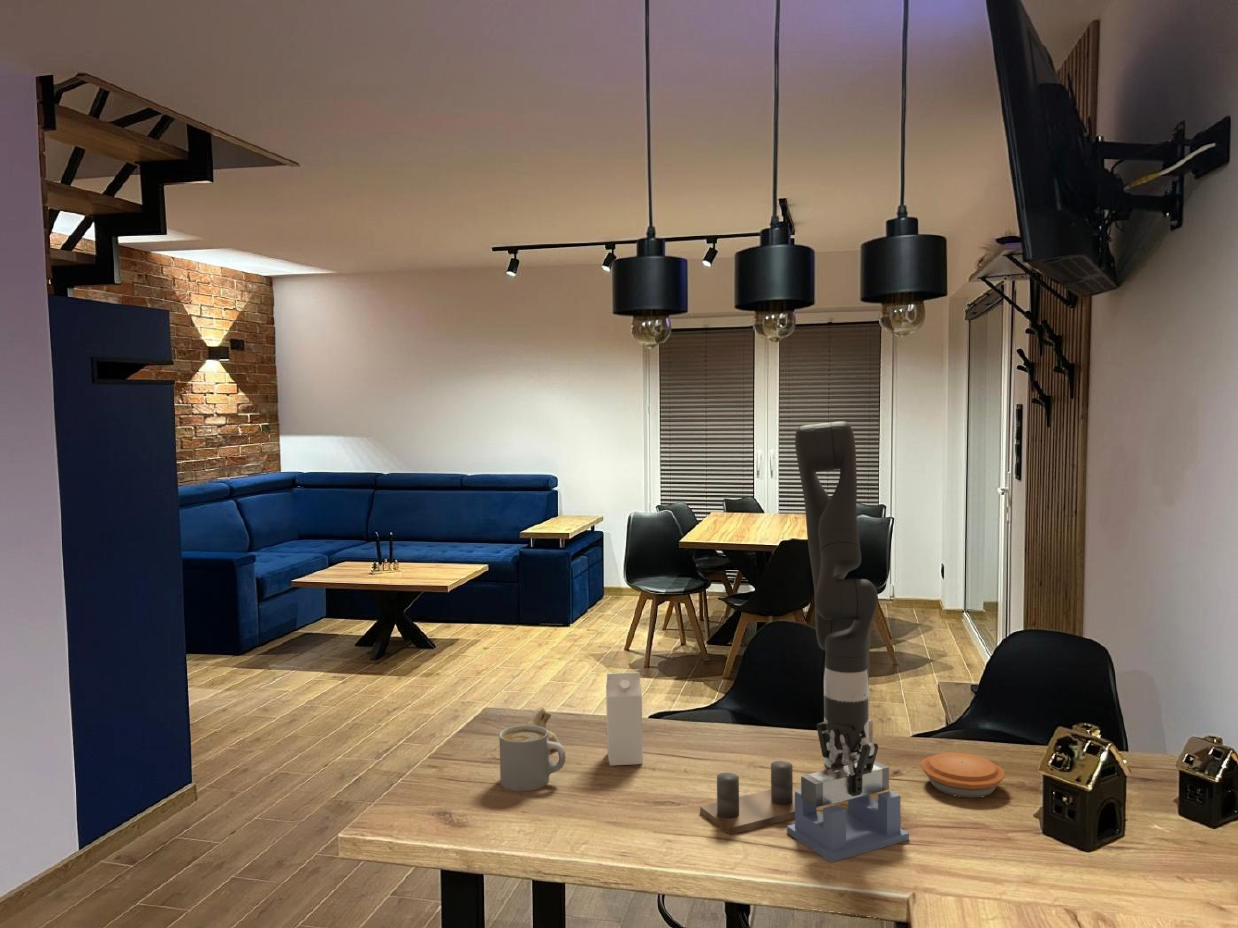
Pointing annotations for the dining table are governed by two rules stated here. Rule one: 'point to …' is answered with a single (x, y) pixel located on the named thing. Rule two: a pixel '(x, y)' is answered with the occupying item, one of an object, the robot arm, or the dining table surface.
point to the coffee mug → (527, 757)
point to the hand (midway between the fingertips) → (846, 789)
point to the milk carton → (624, 718)
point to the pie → (962, 774)
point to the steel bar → (841, 784)
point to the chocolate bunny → (544, 724)
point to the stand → (752, 802)
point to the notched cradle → (849, 826)
